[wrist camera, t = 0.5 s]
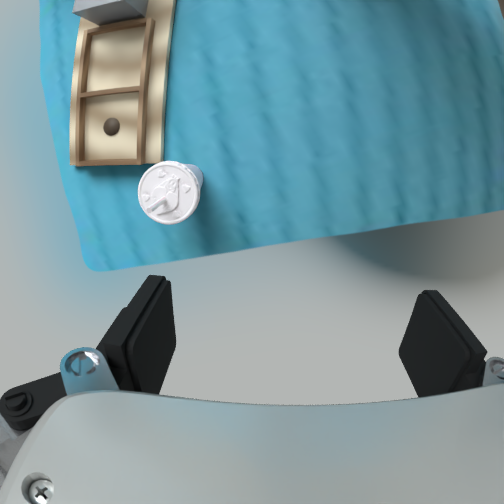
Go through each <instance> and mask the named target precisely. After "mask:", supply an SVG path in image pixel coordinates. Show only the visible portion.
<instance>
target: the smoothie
mask: <svg viewBox="0 0 504 504" xmlns="http://www.w3.org/2000/svg"><path fill="white" fill-rule="evenodd" d="M202 183H203V174H202V171H201V170H200V169H199V168H198V167H197V166H195V165H192V164H181V163H179V162H175V161H164V162H160V163H158V164H156V165H153V166H152V167H151V168H149V169H148V170H147V171H146V172H145V173H144V175H143V176H142V178H141V180H140V182H139V186H138V198H139V202H140V205H141V207H142V209H143V211H144V212H145V213H146V214H147V215H148V216H149V217H150V218H151V219H153V220H154V221H156V222H159V223H162V224H176V223H179V222H182V221H184V220H185V219H187V218H188V217H189V216H190V215H191V214H192V213H193V212H194V210H195V209H196V208H197V205H198V203H199V200H200V189H201V186H202Z"/></svg>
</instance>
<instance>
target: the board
mask: <svg viewBox="0 0 504 504" xmlns="http://www.w3.org/2000/svg"><path fill="white" fill-rule="evenodd" d="M175 6H176V0H148V5H147V11H146V17H144V18H137V19H131V20H125V21H120V22H115V23H110V24H105V25H100V26H99V25H97V24H95V23H93V22H91V21H88V20H86V19H84V18H82V17H81V19H80V25H79V31H78V37H77V43H76V51H75V59H74V67H73V77H72V90H71V106H70V165H76V166H95V165H142V164H145V163H160V162H163V155H164V126H165V106H166V91H167V78H168V66H169V56H170V46H171V37H172V29H173V21H174V13H175Z"/></svg>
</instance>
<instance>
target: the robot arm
mask: <svg viewBox="0 0 504 504" xmlns="http://www.w3.org/2000/svg"><path fill="white" fill-rule="evenodd" d="M175 347H176V335H175V325H174V315H173V304H172V293H171V282H170V281H168V280H166V278H165V276H156V275H149V276H148V277H147V279H146V280H145V281H144V283H143V284H142V286H141V287H140V289H139V290H138V291H137V293H136V294H135V296H134V297H133V299H132V300H131V302H130V303H129V304H128V306H127V307H125V308H123V309H122V310H121V312H120V313H119V315H118V316H117V318H116V319H115V321H114V322H113V324H112V325H111V326H110V328H109V329H108V331H107V332H106V334H105V335H104V337H103V338H102V340H101V342H100V343H99V345H98V346H97V348H96V349H94V348H88V347H83V348H77V349H75V350H72V351H70V352H69V353H67V354H66V355H65V356H64V357H63V358H62V360H61V363H60V370H61V372H59V373H56V374H53V375H51V376H47V377H45V378H41V379H38V380H36V381H32V382H30V383H26V384H23V385H20V386H17V387H14V388H12V389H10V390H8V391H7V392H6V393H4V395H3V396H2V397H1V399H0V504H504V359H502V358H499V357H492V358H489V359H488V360H487V361H486V362H485V360H484V357H485V356H486V354H487V350H486V349H485V348H484V346H483V345H482V344H481V342H480V341H479V340H478V339H477V337H476V336H475V335H474V334H473V332H472V331H471V330H470V329H469V327H468V326H467V325H466V324H465V322H464V321H463V320H462V319H461V318H460V316H459V315H458V314H457V313H456V312H455V310H454V309H453V308H452V307H451V306H450V304H448V302H447V301H446V300H445V299H444V297H443V296H442V295H441V294H440V293H439V292H438V291H437V290H424V291H423V292H422V294H419V295H418V297H417V300H416V303H415V306H414V309H413V312H412V315H411V318H410V321H409V323H408V326H407V329H406V332H405V334H404V337H403V340H402V343H401V345H400V348H399V356H400V359H401V361H402V363H403V365H404V367H405V369H406V371H407V373H408V375H409V378H410V380H411V382H412V384H413V386H414V389H415V391H416V393H417V395H418V397H419V398H411V399H403V400H394V401H383V402H372V403H358V404H357V403H356V404H338V405H337V404H336V405H268V404H267V405H266V404H247V403H246V404H245V403H231V402H220V401H209V400H199V399H191V398H184V397H175V396H166V395H159V392H160V390H161V387H162V384H163V381H164V378H165V376H166V373H167V370H168V367H169V365H170V361H171V359H172V356H173V353H174V351H175Z"/></svg>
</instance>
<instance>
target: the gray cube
mask: <svg viewBox="0 0 504 504" xmlns="http://www.w3.org/2000/svg"><path fill="white" fill-rule="evenodd" d="M147 5H148V0H75V3H74V7H73V12H72V13H74V14H76V15H78V16H80V17H82V18H84V19H86V20H88V21H91V22H93V23H95V24H97V25H99V26H100V25H105V24H110V23H115V22H120V21H125V20H131V19H137V18H144V17H146V11H147Z"/></svg>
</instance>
